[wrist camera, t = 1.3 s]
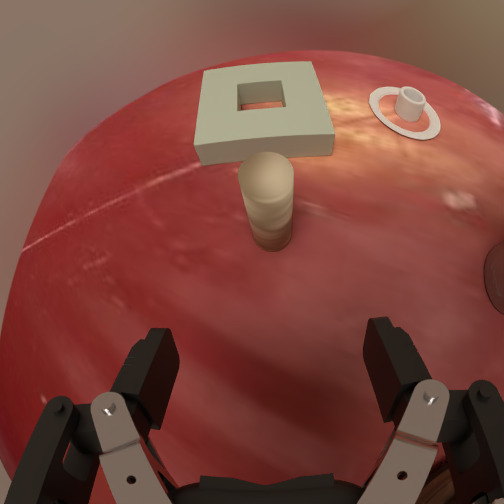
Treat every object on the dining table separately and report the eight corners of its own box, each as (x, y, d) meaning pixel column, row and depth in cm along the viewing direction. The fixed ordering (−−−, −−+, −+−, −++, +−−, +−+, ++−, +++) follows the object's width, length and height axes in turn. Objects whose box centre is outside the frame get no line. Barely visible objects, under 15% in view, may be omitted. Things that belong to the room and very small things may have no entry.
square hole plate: (310, 81, 39) (311, 61, 35) (331, 155, 33) (335, 134, 29) (209, 89, 40) (204, 70, 36) (202, 165, 34) (193, 145, 31)
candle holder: (353, 100, 37) (357, 79, 33) (400, 84, 38) (405, 65, 34) (409, 153, 33) (419, 132, 29) (451, 129, 34) (461, 111, 30)
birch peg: (289, 215, 31) (290, 149, 20) (292, 250, 29) (296, 194, 19) (252, 218, 31) (237, 154, 21) (254, 253, 30) (238, 198, 19)
